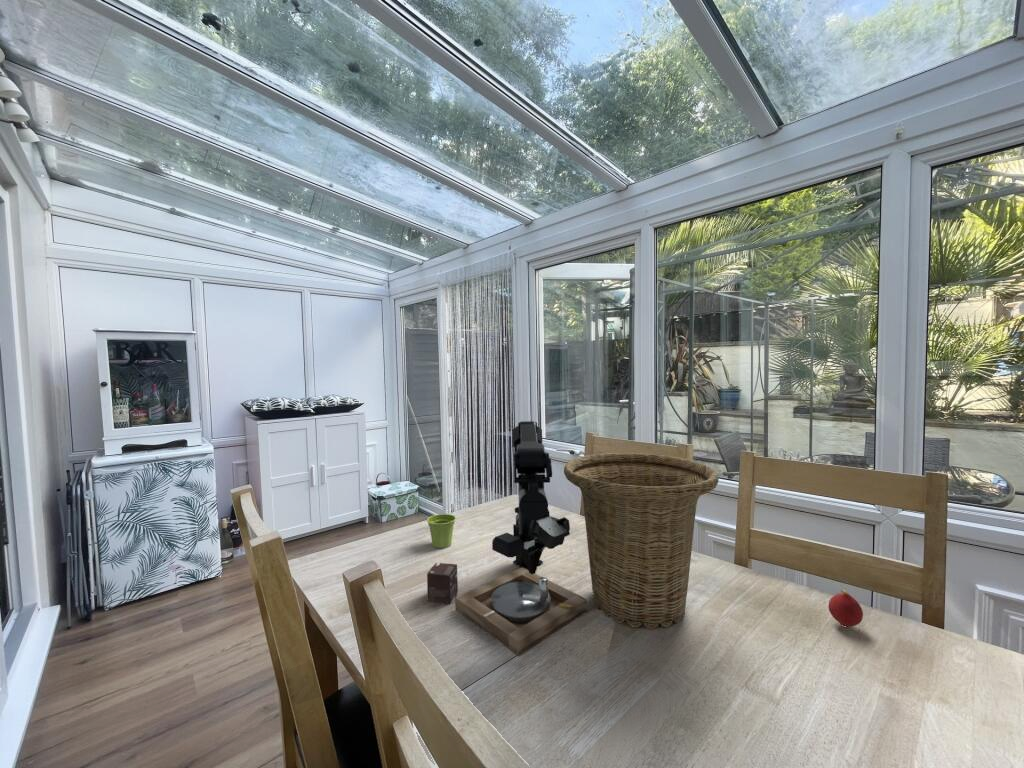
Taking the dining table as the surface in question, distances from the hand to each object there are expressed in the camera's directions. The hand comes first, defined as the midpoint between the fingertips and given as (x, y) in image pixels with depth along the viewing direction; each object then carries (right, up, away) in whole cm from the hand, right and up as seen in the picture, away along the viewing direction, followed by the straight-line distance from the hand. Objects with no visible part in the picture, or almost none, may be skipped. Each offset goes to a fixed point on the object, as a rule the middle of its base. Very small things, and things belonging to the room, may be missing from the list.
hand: (532, 573), depth 93 cm
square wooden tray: (-2, -11, +6) cm, 13 cm away
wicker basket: (+26, -11, +9) cm, 30 cm away
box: (-22, -12, +12) cm, 28 cm away
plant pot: (-27, -11, +44) cm, 53 cm away
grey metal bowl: (-2, -10, +6) cm, 12 cm away
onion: (+68, -11, -2) cm, 69 cm away
